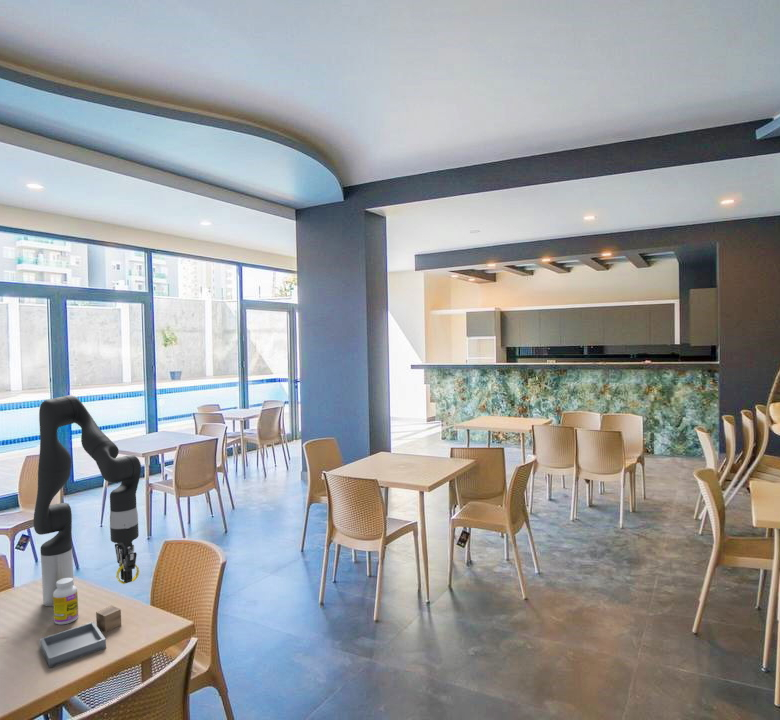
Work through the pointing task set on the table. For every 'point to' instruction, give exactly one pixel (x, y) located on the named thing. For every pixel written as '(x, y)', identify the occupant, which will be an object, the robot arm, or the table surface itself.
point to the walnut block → (108, 618)
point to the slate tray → (72, 644)
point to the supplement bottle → (65, 602)
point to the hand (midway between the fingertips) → (126, 580)
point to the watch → (132, 579)
